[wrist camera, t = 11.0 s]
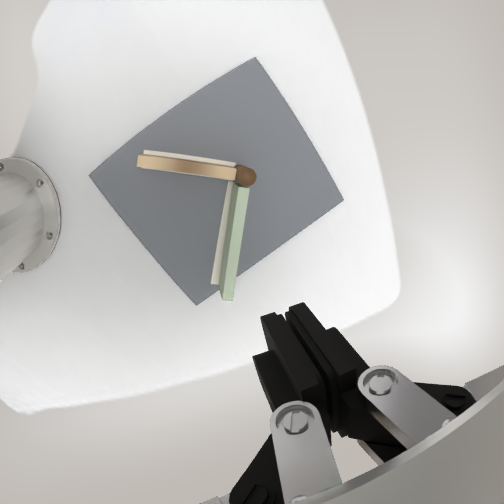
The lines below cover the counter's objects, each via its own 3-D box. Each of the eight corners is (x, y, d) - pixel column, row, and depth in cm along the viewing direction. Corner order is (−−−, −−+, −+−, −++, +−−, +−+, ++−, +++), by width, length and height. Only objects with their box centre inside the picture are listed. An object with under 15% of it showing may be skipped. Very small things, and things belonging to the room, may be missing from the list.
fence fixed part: (142, 166, 28) (134, 170, 24) (144, 150, 28) (137, 152, 24) (244, 181, 31) (254, 187, 27) (247, 165, 31) (258, 169, 26)
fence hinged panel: (233, 182, 30) (238, 186, 27) (243, 183, 30) (249, 188, 27) (218, 286, 33) (222, 300, 30) (227, 286, 34) (232, 300, 31)
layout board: (196, 304, 35) (196, 306, 34) (89, 175, 27) (88, 175, 27) (342, 200, 34) (344, 201, 34) (254, 57, 27) (255, 56, 26)
